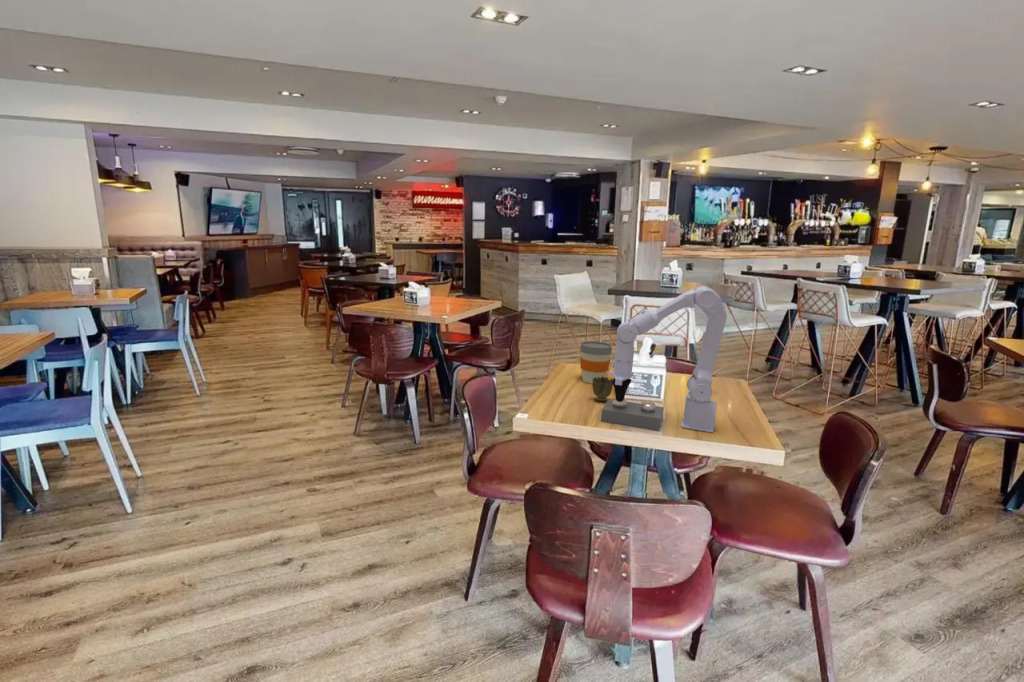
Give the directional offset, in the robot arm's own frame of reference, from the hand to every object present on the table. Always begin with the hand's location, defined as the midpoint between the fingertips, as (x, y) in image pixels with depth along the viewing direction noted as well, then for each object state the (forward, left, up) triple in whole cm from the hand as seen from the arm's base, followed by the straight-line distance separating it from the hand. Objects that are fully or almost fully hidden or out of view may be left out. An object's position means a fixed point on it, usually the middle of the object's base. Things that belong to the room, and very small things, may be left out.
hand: (619, 401), depth 168 cm
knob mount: (-5, 0, -6) cm, 7 cm away
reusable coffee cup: (+16, -39, -6) cm, 43 cm away
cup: (+8, -15, -6) cm, 18 cm away
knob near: (-9, 0, -4) cm, 10 cm away
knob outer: (0, 0, -5) cm, 5 cm away
